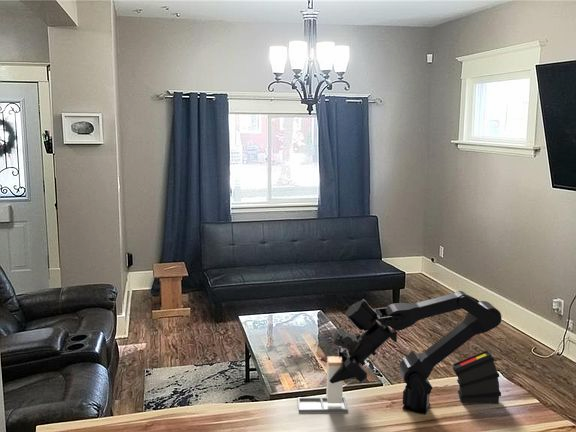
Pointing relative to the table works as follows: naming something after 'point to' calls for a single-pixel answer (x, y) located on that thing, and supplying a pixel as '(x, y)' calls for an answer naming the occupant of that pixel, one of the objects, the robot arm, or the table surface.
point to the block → (334, 389)
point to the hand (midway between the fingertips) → (329, 378)
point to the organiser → (320, 405)
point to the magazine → (478, 379)
